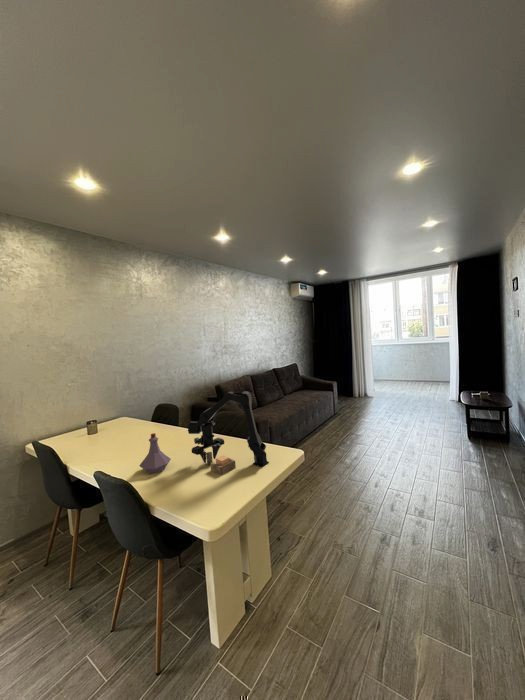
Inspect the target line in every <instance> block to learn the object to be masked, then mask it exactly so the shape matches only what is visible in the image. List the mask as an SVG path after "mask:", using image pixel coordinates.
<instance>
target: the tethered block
mask: <svg viewBox="0 0 525 700" xmlns="http://www.w3.org/2000/svg"><path fill="white" fill-rule="evenodd" d="M229 458H230V457H229V456H226V455H221V456H219V457H216V458H215V464H217V465H219V466H223V465H225V464H227V463H229ZM210 463H214V462H213V451H207V452H206V464H207V465H208V466H211V465H210Z"/></svg>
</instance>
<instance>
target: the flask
mask: <svg viewBox="0 0 525 700" xmlns="http://www.w3.org/2000/svg"><path fill="white" fill-rule="evenodd" d="M158 440H159V437H157V436H156V433H155V432H154V433H151V434H150V438H149V439H148V441H149V449H148V453H147V455H146V456H145V458H144V459H143V460H142V462H141V463H140V464H139V465H138V466H139V467H140V468H141V469H143V470H144V471H145V472H146V473H148V475H149V474H150V475H154V474H158V473H159V474H160V473H161V472H163V471H164V470H165V469H166V468H167V466H168V465H169V463H170V461H171V460H172V459H171V458H170V457H169V456H168V455H166V454H165V453H164V452H162V450H161V449H160V446H159V443H158Z"/></svg>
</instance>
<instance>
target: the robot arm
mask: <svg viewBox="0 0 525 700" xmlns="http://www.w3.org/2000/svg"><path fill="white" fill-rule="evenodd" d="M251 393H252V392H250V391H246V390H244V391H228V392H226V394H225V395H224V396H223V397H222V398H221V399H219V400H218V401H217V402H216V403H215V404H214V405H212V406H211V407H209V408H207V409H206V410H205V411H203V412H202V413H200V415H199V418H198V421H193V420H192V421H190V422H189V425H188V428H187V432H188V434H189V435H199V434H201V435H200V438H199V437H195V438H193V442H194V444H195V445H196V444H197V445H196V446H193V447H191V454H194V455H196V456H199V455H200V457H201V459H202V462H203V464H207V455H206V453H207V452H206V451H205V450H206V449H208V448H212V459H214V460H216V458H217V454H218V452H219V450H220V448H221V447H222V446H223V445H225V440H224V439H223V438H220V437H216V438H215V439H214V437H215V434H214V432H213V431H214V430H213V427H214V426H215V425H216V422H215V421H213V420H211V419H213V418H214V416H215V415H216V413H217V412H218V411H220V410H221V408H223V407H224V406H225V405H226V404H227V403H229V402H230V401H233V402H237V403H239V405H240V406H241V408H242V410H243V412H244V416H245V421H246V425H247V429H248V435H249V436H248V437H247V439H246V443H247V445H248V446H247V447H248V448H249V450H250V451H252V453H253V460H254V462H252V465H254V466H257V467H259V468H262V467H264V466H265V465H267V464H269V463H270V461H268V459H267V452H266V448H267V445H266V444H265V443H264V442H263V441H262V438H261V436H260V434H259V432H258V430H257V426H256V421H255V417H254V413H253V409H252V404H253V403H252V402H253V400H252V399H253V398H252V394H251ZM200 445H201V446H200Z"/></svg>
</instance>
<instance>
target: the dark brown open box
mask: <svg viewBox="0 0 525 700" xmlns="http://www.w3.org/2000/svg"><path fill="white" fill-rule="evenodd" d="M209 466H210V471H212V472H213V473H215V474H218V475H220V476H223V475H225V474H227V473H228V472H230V471H233V470H235V469H236V468H237V467H236V466H237V465H236V460H235V459H232V458H230V457H229V463H227V464H225V465H223V466H219V465H217V464H216V462H213V463H210V465H209Z"/></svg>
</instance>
